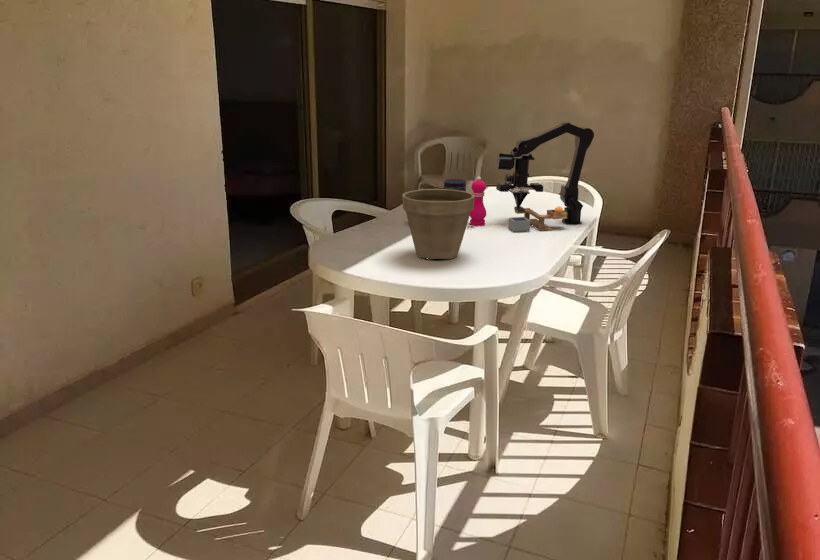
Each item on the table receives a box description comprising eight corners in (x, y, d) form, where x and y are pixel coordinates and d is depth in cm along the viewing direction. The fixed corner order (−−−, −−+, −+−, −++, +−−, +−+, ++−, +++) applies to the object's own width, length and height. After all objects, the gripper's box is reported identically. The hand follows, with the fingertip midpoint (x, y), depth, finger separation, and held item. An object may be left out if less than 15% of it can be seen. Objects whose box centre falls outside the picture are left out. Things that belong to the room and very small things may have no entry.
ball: (560, 214, 272) (562, 206, 271) (563, 216, 269) (565, 207, 268) (552, 213, 271) (554, 205, 270) (555, 215, 268) (557, 207, 267)
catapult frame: (535, 220, 284) (536, 207, 283) (552, 230, 268) (553, 217, 266) (523, 221, 283) (524, 208, 282) (539, 231, 267) (540, 217, 265)
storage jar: (465, 212, 299) (466, 179, 294) (465, 217, 290) (466, 183, 285) (443, 211, 300) (444, 179, 295) (442, 216, 291) (443, 182, 286)
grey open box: (523, 227, 272) (524, 216, 271) (529, 231, 266) (530, 220, 265) (508, 228, 271) (508, 217, 270) (513, 232, 265) (514, 221, 263)
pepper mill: (485, 226, 274) (487, 178, 268) (467, 225, 275) (469, 177, 269) (486, 222, 281) (488, 175, 274) (469, 221, 282) (471, 174, 276)
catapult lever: (551, 210, 283) (551, 204, 282) (566, 219, 268) (567, 212, 267) (514, 211, 280) (514, 205, 279) (527, 220, 265) (528, 214, 264)
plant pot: (431, 241, 252) (432, 184, 245) (486, 253, 237) (488, 193, 230) (387, 256, 233) (387, 195, 226) (444, 269, 218) (445, 205, 212)
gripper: (535, 167, 282) (532, 203, 287) (493, 167, 278) (490, 203, 283) (545, 171, 271) (541, 209, 276) (502, 171, 268) (499, 209, 273)
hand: (518, 207), depth 277 cm, fingers closed, pressing on catapult lever
